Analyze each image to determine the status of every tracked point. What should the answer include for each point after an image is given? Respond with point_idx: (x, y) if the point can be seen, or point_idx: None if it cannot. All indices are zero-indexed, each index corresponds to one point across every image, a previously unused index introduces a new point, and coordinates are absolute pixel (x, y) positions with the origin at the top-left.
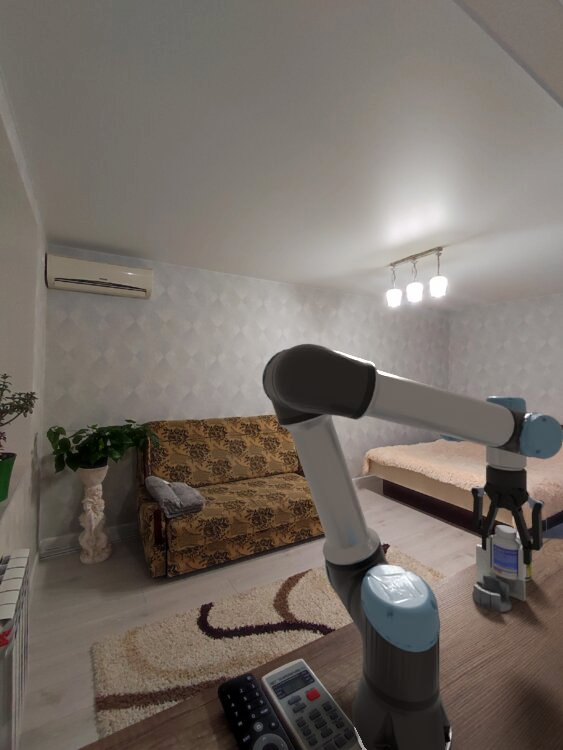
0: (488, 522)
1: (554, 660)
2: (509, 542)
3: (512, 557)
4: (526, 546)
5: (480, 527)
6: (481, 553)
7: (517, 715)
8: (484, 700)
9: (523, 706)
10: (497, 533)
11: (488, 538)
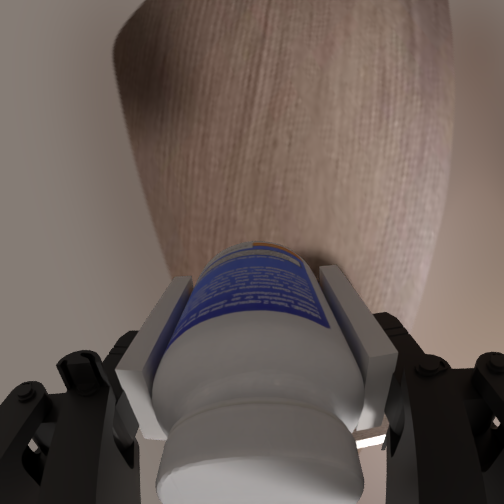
0: (445, 479)
1: (158, 231)
2: (197, 387)
3: (188, 309)
4: (77, 391)
5: (469, 406)
6: (385, 420)
7: (160, 33)
8: (210, 14)
9: (159, 57)
10: (317, 418)
11: (383, 361)
